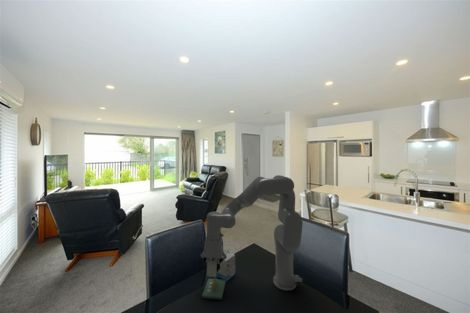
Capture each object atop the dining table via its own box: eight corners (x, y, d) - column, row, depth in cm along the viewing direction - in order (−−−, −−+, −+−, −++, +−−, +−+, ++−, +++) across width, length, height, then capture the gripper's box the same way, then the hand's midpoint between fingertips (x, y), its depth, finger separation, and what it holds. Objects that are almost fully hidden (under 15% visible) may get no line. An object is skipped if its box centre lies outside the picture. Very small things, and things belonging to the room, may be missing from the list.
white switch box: (219, 265, 96) (219, 253, 96) (215, 277, 86) (215, 263, 86) (211, 264, 96) (211, 253, 96) (206, 276, 87) (207, 263, 87)
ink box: (226, 282, 97) (226, 258, 97) (215, 275, 102) (215, 253, 102) (235, 273, 103) (235, 251, 104) (225, 268, 109) (224, 247, 109)
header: (225, 282, 97) (225, 272, 97) (221, 299, 85) (221, 288, 85) (208, 280, 98) (208, 270, 98) (202, 297, 86) (201, 286, 86)
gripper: (230, 233, 94) (229, 266, 94) (200, 231, 96) (200, 264, 96) (228, 240, 87) (227, 276, 87) (196, 237, 89) (195, 273, 88)
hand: (213, 269), depth 91 cm, fingers closed on white switch box, 4 cm apart
